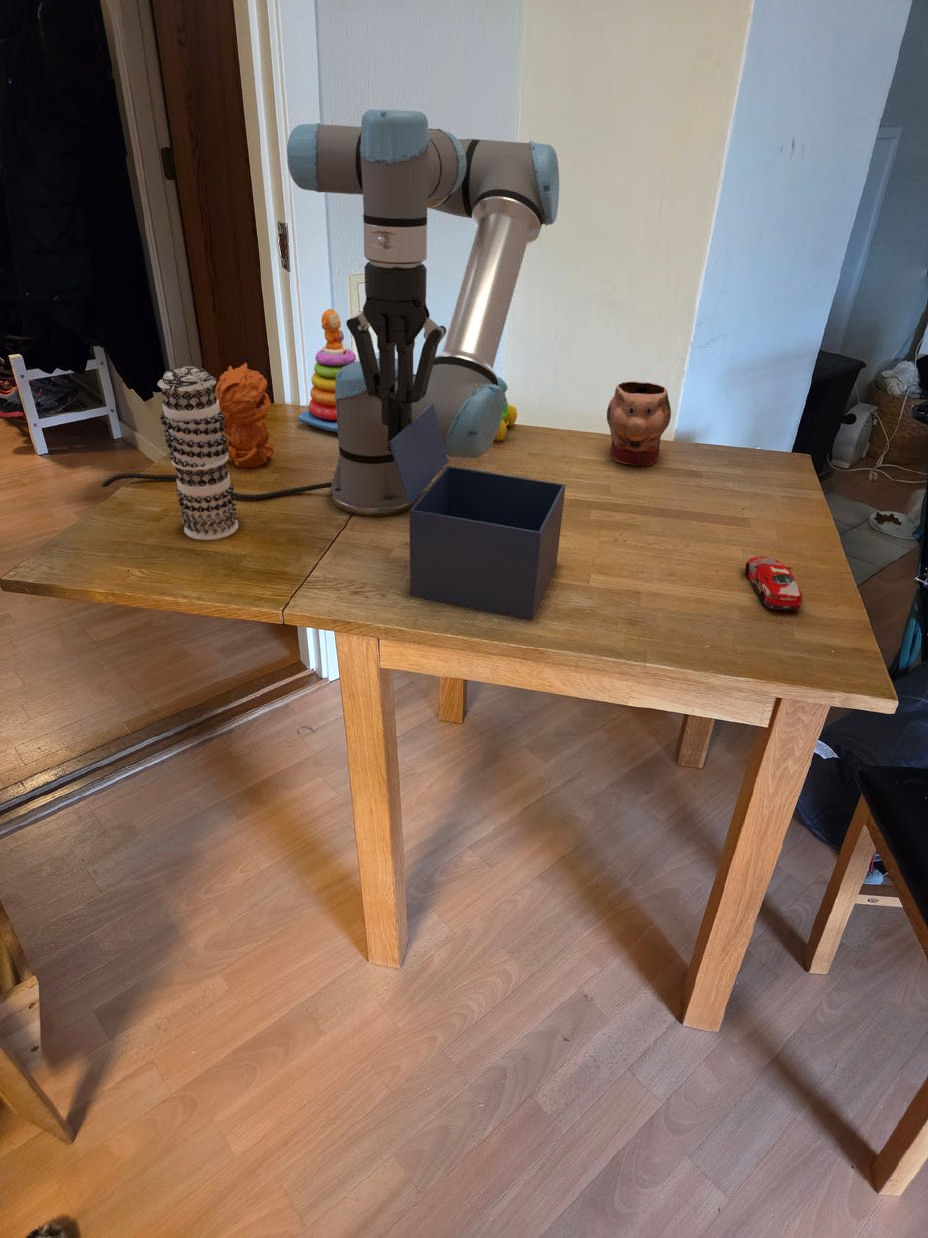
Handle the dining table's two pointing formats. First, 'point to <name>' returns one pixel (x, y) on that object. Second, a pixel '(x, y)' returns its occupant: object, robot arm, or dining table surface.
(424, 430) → the box flap
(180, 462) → the decorative candle
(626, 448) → the decorative planter
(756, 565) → the race car
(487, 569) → the toy box
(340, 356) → the stacking toy
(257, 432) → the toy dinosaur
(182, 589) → the dining table surface
